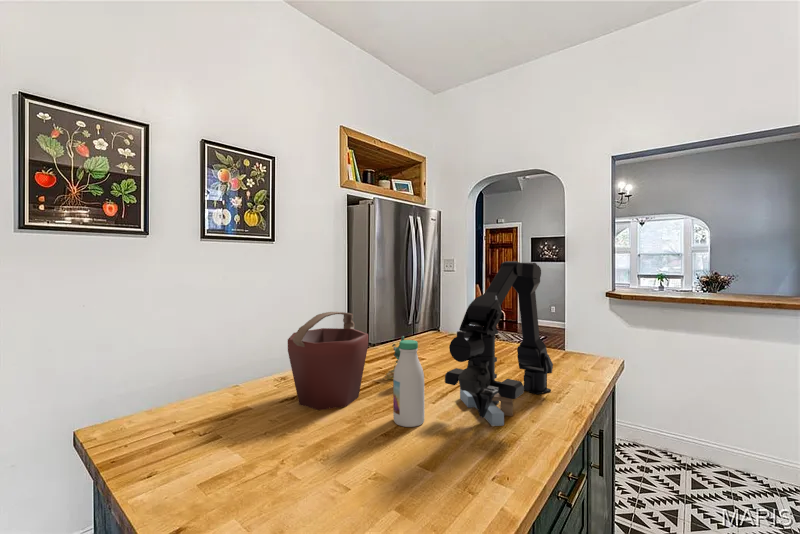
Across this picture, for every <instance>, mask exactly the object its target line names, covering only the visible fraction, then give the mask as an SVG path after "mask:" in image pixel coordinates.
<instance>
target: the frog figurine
mask: <svg viewBox="0 0 800 534" xmlns="http://www.w3.org/2000/svg"><path fill="white" fill-rule="evenodd" d="M402 340H405V336H404V335H402V336H401V338H400V341H402ZM392 348H393V350H394V353H393V356H394V357H395V358H396V361H395V362H394V367H393V368H391V369H388V371H387V372H386V373H385V376H383V378H382V380H385V381H389V380H391V381H393V380H394V370H395V367H396V365H397V363H398V360H399V357H400V350H399V349H400V347H399V345H398V346H397V347H396V343H394V344H392Z"/></svg>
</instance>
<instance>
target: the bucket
mask: <svg viewBox="0 0 800 534" xmlns="http://www.w3.org/2000/svg"><path fill="white" fill-rule="evenodd" d="M334 315H341V316H342V315H343V318H342V319H343V320H342V322H343V327H342V328H337V327H336V328H334V327H333V328H332V327H331V328H330V327H329V328H324V327H323V328H321V327H320V328H315V329H312V328H314V326H316V325H317V324H318V323H319V322H320V321H323V320H324V319H325V318H327V317H330V316H334ZM353 319H354V313H350V312H343V311H328V312H327V311H326V312H322V313H319V314H317V315H315V316H313V317H312V318H310V319H309V320H308V321H307V322H305V323H304V324H303V325H301V326H300V327H299V328H298V330H297V331H296V332H293V333H292V335H290V336H289V337H288V338H287V353H288V359H289V362H290V368H291V372H292V378H293V382H294V386H295V387H294V388H295V391H296V396H297V400H298V405H300V406H303V407H306V408H309V409H313V410H316V411H323V410H331V409H338V408H346V407H348V406H349V405H350V404H351V403H353V402H355V400H357V399H358V398H359V396H360V390H361V385H362V380H363V374H364V369H365V364H366V359H367V354H368V353H367V352H368V348H369V333H367V332H364V331H361V330H358V329H357V328H356V329H355V322H354V320H353Z"/></svg>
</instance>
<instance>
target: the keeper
mask: <svg viewBox="0 0 800 534" xmlns="http://www.w3.org/2000/svg"><path fill="white" fill-rule="evenodd" d="M492 400H493V401H499V402H500V410H501V411H502V412H503V413H504V416H505V417H506V416H509V417H514V399H509V398H505V397H501V396H500V394H499V393H497V394H496V395H494V397H493V399H492Z"/></svg>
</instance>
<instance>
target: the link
mask: <svg viewBox="0 0 800 534" xmlns="http://www.w3.org/2000/svg"><path fill="white" fill-rule="evenodd" d="M459 399H460V400H461V401H462V403H463V404H464V406H466V408H475V409H476V410H477V411H478V409H477V406H476V403H475V401H474V399H473V396H472V395H471V394H470V393H469V392H467V391H463V390H461V389H460V388H459ZM483 418H484V419H485V420H486V421H487V422H488V423H489V425H490V426H491V427H498V426H499V427H500V426H501V427H502V426H504V425H505V415H504V413H503V412H502V411H501V408H500V407H498V406H497V404H494V403H493V400H492V401H491V403H490V405H489V408H488V410H487V412H486V415H485V417H483Z"/></svg>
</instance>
